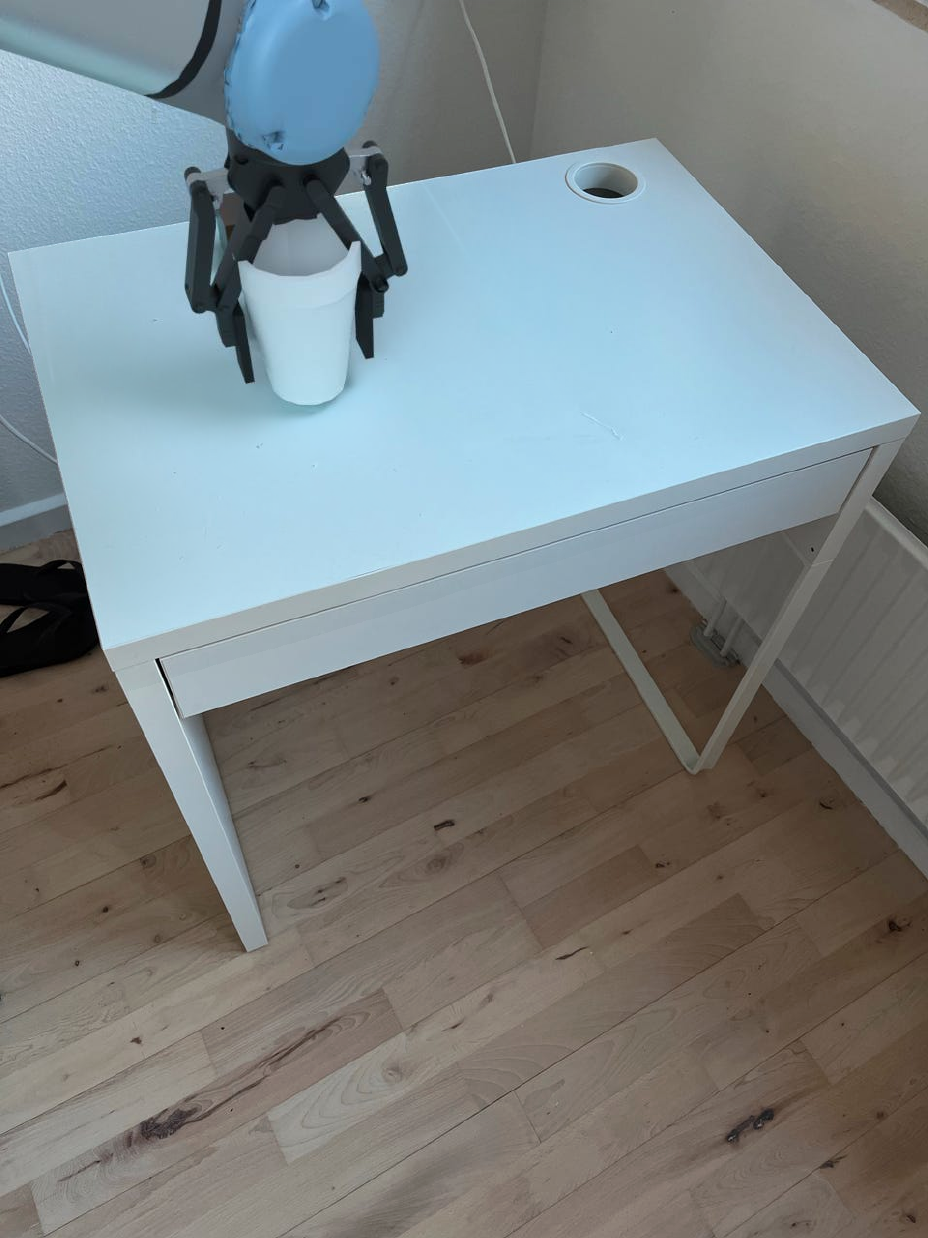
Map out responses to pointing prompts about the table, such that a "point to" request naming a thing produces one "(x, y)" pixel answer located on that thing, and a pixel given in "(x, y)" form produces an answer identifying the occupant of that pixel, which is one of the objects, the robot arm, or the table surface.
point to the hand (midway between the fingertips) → (306, 359)
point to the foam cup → (303, 308)
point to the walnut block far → (227, 217)
